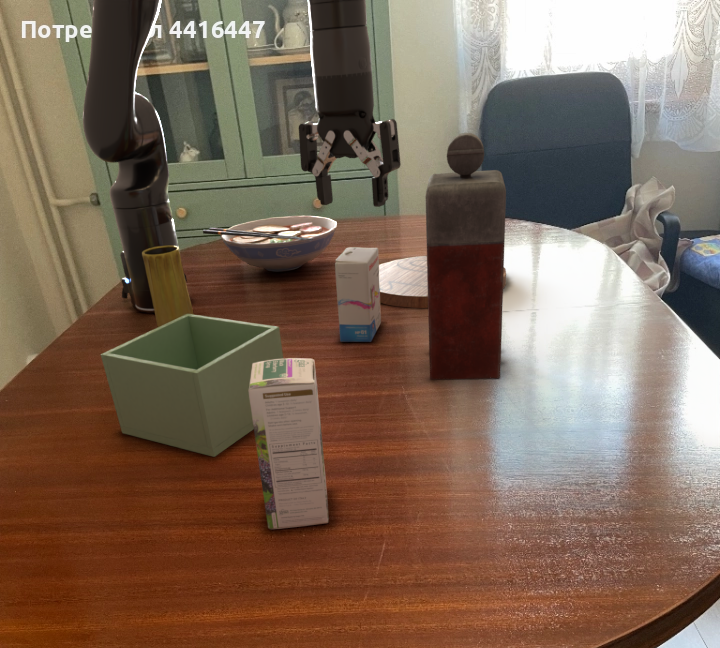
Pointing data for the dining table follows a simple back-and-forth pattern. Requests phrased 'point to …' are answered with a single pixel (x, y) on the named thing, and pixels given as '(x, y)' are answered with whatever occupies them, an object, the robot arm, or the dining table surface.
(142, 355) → the waste bin
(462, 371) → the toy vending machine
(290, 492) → the syrup box
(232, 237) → the ramen bowl
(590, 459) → the dining table surface
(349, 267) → the ink box
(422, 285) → the trivet
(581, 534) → the dining table surface
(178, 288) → the vase
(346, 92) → the robot arm
